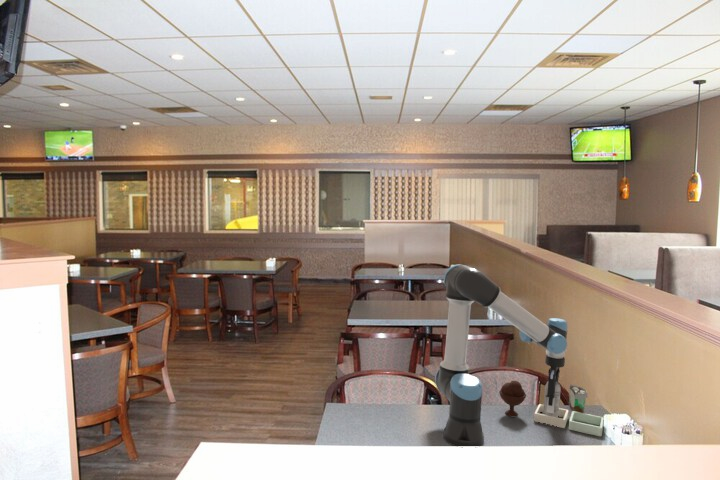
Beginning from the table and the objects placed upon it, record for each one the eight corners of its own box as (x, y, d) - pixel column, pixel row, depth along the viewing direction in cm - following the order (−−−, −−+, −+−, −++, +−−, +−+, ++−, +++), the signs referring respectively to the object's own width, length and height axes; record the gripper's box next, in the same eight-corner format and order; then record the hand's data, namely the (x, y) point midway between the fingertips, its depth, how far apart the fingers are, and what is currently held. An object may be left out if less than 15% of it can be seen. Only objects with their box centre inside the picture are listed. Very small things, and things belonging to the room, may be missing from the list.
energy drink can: (548, 413, 219) (550, 379, 218) (561, 418, 214) (563, 383, 213) (540, 416, 216) (542, 381, 214) (553, 421, 211) (555, 386, 210)
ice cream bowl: (527, 413, 221) (529, 379, 220) (520, 421, 212) (522, 386, 211) (503, 407, 227) (504, 374, 226) (495, 415, 217) (497, 380, 216)
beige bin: (533, 421, 213) (534, 413, 212) (538, 411, 223) (539, 403, 223) (564, 428, 207) (565, 420, 207) (568, 418, 218) (568, 410, 217)
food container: (589, 418, 218) (591, 395, 217) (574, 416, 219) (575, 394, 218) (582, 407, 230) (584, 385, 229) (568, 405, 231) (569, 384, 230)
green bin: (568, 429, 206) (569, 420, 206) (571, 418, 217) (572, 410, 217) (601, 436, 201) (602, 428, 200) (603, 425, 211) (603, 417, 211)
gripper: (561, 363, 203) (557, 419, 205) (567, 352, 220) (563, 404, 221) (542, 359, 207) (538, 415, 208) (549, 349, 223) (545, 400, 225)
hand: (551, 409), depth 215 cm, fingers closed on energy drink can, 6 cm apart
